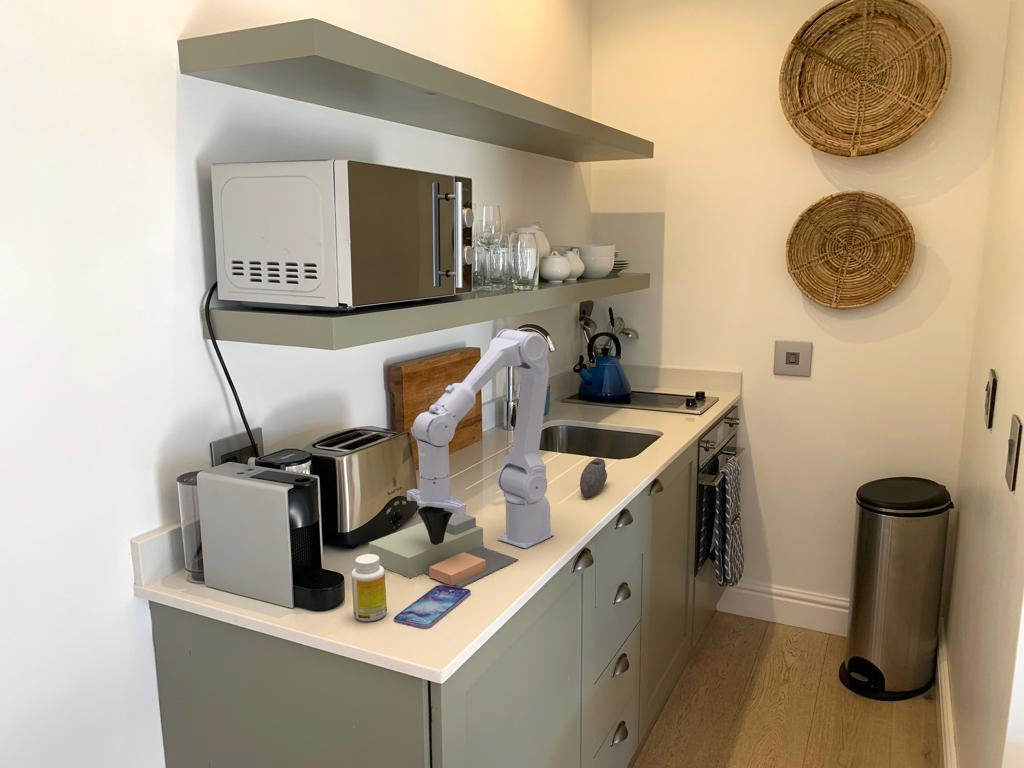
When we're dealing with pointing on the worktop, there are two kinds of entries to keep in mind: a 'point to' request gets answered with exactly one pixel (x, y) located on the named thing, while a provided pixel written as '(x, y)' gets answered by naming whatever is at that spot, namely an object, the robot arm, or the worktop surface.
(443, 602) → the smartphone
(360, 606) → the supplement bottle
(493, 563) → the mat
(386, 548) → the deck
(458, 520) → the slate gray rectangular block
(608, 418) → the worktop surface
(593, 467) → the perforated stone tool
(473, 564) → the peach rectangular tile
